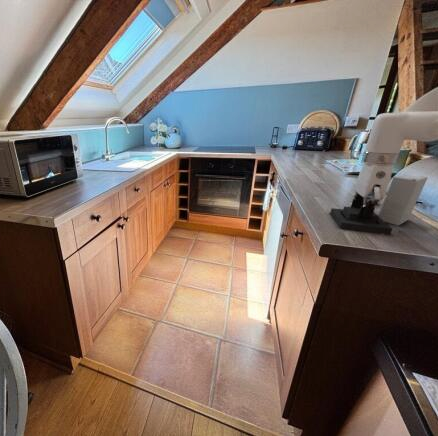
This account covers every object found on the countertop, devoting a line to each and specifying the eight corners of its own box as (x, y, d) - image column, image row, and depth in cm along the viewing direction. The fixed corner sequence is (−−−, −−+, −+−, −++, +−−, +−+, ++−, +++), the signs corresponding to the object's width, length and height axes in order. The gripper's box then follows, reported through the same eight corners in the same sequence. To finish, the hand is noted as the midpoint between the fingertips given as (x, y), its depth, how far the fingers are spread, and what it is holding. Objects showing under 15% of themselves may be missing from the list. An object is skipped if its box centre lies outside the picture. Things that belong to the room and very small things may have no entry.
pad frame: (372, 218, 83) (374, 212, 82) (390, 234, 71) (392, 228, 70) (330, 213, 87) (331, 208, 86) (340, 228, 75) (341, 222, 75)
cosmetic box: (386, 215, 85) (402, 172, 79) (409, 220, 80) (429, 176, 74) (375, 219, 81) (391, 175, 75) (399, 226, 76) (419, 179, 70)
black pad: (367, 216, 80) (370, 209, 79) (376, 223, 74) (378, 216, 73) (342, 213, 83) (344, 206, 82) (347, 220, 77) (350, 213, 76)
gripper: (410, 164, 62) (385, 227, 69) (383, 155, 77) (364, 207, 84) (373, 162, 65) (353, 223, 72) (354, 154, 80) (338, 205, 87)
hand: (359, 214), depth 78 cm, fingers closed on black pad, 7 cm apart
